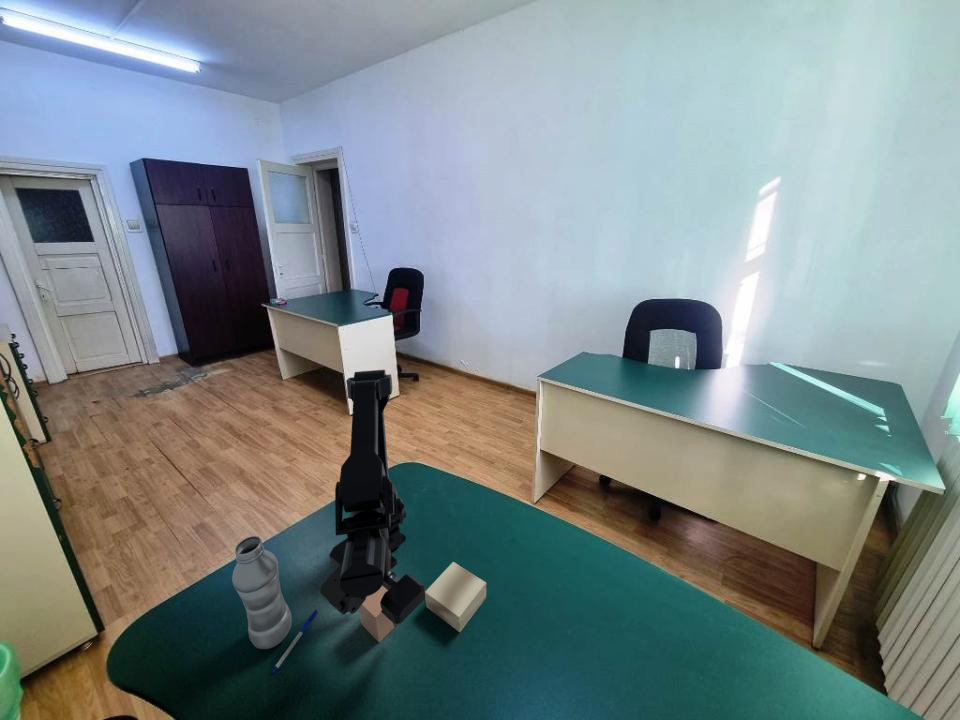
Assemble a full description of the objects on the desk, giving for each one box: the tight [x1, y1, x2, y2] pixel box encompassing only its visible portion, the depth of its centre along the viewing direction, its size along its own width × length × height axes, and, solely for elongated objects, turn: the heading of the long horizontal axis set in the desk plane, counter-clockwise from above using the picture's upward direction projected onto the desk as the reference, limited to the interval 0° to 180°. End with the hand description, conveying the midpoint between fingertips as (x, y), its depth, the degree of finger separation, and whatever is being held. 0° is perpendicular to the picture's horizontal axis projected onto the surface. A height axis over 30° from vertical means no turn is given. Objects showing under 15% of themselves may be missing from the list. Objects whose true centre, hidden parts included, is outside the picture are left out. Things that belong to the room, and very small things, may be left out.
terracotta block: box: [358, 586, 395, 643], centre depth 65 cm, size 5×5×6 cm
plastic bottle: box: [231, 535, 292, 650], centre depth 61 cm, size 6×7×20 cm
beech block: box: [425, 561, 487, 633], centre depth 69 cm, size 8×8×4 cm
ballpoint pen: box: [270, 609, 318, 675], centre depth 63 cm, size 10×1×1 cm, turn 166°
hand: (380, 608), depth 65 cm, fingers open, 9 cm apart
